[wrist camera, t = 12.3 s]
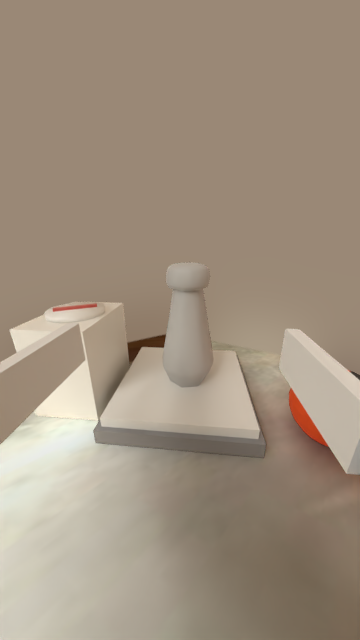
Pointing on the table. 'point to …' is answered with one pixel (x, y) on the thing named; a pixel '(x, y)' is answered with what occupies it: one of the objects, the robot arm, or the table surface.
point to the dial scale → (145, 390)
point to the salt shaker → (187, 326)
